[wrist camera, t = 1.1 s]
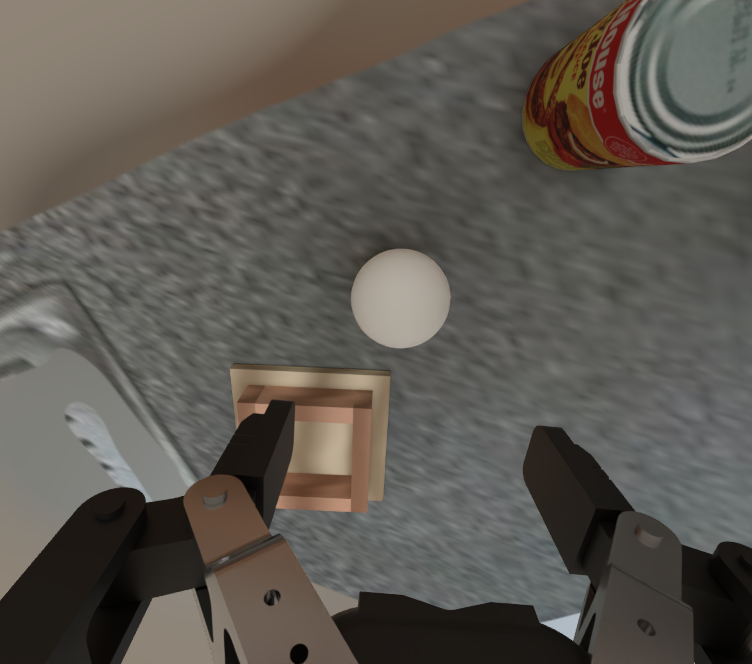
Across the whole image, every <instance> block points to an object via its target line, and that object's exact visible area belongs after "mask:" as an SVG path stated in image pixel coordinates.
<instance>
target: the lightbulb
mask: <svg viewBox="0 0 752 664" xmlns="http://www.w3.org/2000/svg"><path fill="white" fill-rule="evenodd" d="M450 298H451V296H450V287H449V284H448V281H447V278H446V276H445V275H444V273H443V271H442V270H441V268H440V267H439V266H438V265H437V264H436V263H435V261H433V260H432V259H431V258H429V257H428V256H427V255H425V254H422V253H420V252H418V251H414V250H410V249H393V250H387V251H385V252H382V253H379V254H377V255H376V256H374V257H373V258H371V259H370V260H369V261H368V262H367V263H366V264H364V265H363V267H362V268H361V269H360V271H359V272H358V274H357V276H356V278H355V281H354V283H353V287H352V292H351V306H352V311H353V314H354V316H355V319H356V321H357V323H358V325H359V326H360V328H361V329H362V331H363V332H364V333H365V334H366V335H367V336H369V337H370V338H371V339H373V340H374V341H376V342H377V343H380V344H382V345H384V346H387V347H392V348H409V347H414V346H417V345H420V344H422V343H424V342H425V341H427V340H429V339H430V338H431V337H432V336H434V335H435V334H436V333H437V332H438V330H439V329H440V328H441V327H442V325H443V324H444V322H445V320H446V318H447V315H448V312H449V308H450Z"/></svg>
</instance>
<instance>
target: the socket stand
mask: <svg viewBox="0 0 752 664" xmlns="http://www.w3.org/2000/svg"><path fill="white" fill-rule="evenodd" d="M230 374H231V383H232V393H233V402H234V412H235V422H236V430H237V428H238V426H239V425H240V423H241V421H243V420H244V419H245V418H247V417H248V416H250V415H251V414H252V413H258V414H264V413H265V411H266V409H267V407H268V405H269V403H270V401H271V400H272V399H275V400H285V401H294V402H295V426H294V446H293V453H292V458H291V461H290V464H289V468H288V471H287V474H286V477H285V480H284V483H283V487H282V490H281V493H280V496H279V499H278V502H277V505H276V508H282V509H303V510H323V511H344V512H365V513H367V505H368V500H373V501H383V490H384V474H385V458H386V442H387V426H388V410H389V394H390V378H391V373H390V371H380V370H358V369H337V368H316V367H294V366H273V365H251V364H233V366H232V367H231V368H230Z"/></svg>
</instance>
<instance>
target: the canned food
mask: <svg viewBox="0 0 752 664" xmlns="http://www.w3.org/2000/svg"><path fill="white" fill-rule="evenodd" d="M522 125H523V131H524V135H525V138H526V142H527V144H528V145H529V147H530V149H531V150H532V152H533V153H534V155H535V156H536V157H538V158H539V159H540V160H541V161H542V162H543V163H544V164H547V165H549V166H551V167H554V168H556V169H561V170H588V169H604V168H621V167H637V166H654V165H670V164H687V163H694V162H700V161H706V160H712V159H715V158H718V157H720V156H722V155H724V154H727V153H729V152H731V151H734V150H736V149H738V148H740V147H741V146H743V145H744V144H746V143H747V142H748V141H750V140H751V139H752V0H627V1H625V2H624V3H623V4H621V5H620V6H619V7H617V8H616V9H614V10H613V11H612V12H610V13H609V14H608V15H606V16H605V17H604V18H602V19H601V20H600V21H598V22H597V23H596V24H594V25H593V26H592V27H590V28H589V29H588V30H586V31H585V32H584V33H582V34H581V35H580V36H578V37H577V38H576V39H574V40H573V41H572V42H570V43H569V44H568V45H566V46H565V47H564V48H562V49H561V50H560V51H558V52H557V53H556V54H555V55H554V56H552V57H551V58H550V59H549V60H548V61H547V62H545V63H544V64H543V66H542V67H541V68H540V70H539V71H538V72H537V74H536V75H535V76H534V78H533V79H532V82H531V84H530V86H529V88H528V91H527V93H526V95H525V100H524V105H523V110H522Z"/></svg>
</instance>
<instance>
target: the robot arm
mask: <svg viewBox="0 0 752 664" xmlns="http://www.w3.org/2000/svg"><path fill="white" fill-rule="evenodd" d="M294 426H295V402H294V401H285V400H275V399H272V400H271V401H270V403H269V405H268V407H267V409H266V411H265V413H264V414H258V413H252V414H251V415H250V416H248V417H247V418H245V419H244V420H243V421H241V423H240V425H239V426H238V428H237V430H236V431H235V435H233V437H232V438H231V440H230V443H229V444H228V445H227V447H226V449H225V451H224V452H223V454H222V456H221V457H220V459H219V461H218V463H217V464H216V466H215V468H214V470H213V471H212V473H211V475H210V476H209V477H206V478H203V479H201V480H199V481H197V482H196V483H194V484H193V485H192V486H191V487H190V488H189V489H188V490H187V492H186V494H185V495H184V496H181V497H178V498H173V499H167V500H161V501H155V502H148V503H146V500H145V496H144V495H143V493H142V492H140V491H139V490H137V489H134V488H127V487H123V488H114V489H110V490H107V491H104V492H101V493H99V494H97V495H95V496H93V497H91V498H90V499H88V500H87V501H85V502H84V503H83V504H82V505H81V506H80V507H79V508H78V509H77V510H76V511H75V512H74V513H73V515H72V516H71V517H70V518H69V519H68V521H67V522H66V523H65V524H64V525H63V527H62V528H61V529H60V530H59V531H58V532H57V534H56V535H55V536H54V537H53V539H52V540H51V541H50V542H49V543H48V544H47V546H46V547H45V548H44V549H43V550H42V552H41V553H40V554H39V555H38V557H37V558H36V559H35V560H34V561H33V562H32V563H31V565H30V566H29V567H28V568H27V569H26V571H25V572H24V573H23V574H22V575H21V577H20V578H19V579H18V580H17V581H16V583H15V584H14V585H13V586H12V587H11V589H10V590H9V591H8V592H7V593H6V594H5V596H4V597H3V598H2V599H1V601H0V664H121V662H122V660H123V658H124V656H125V654H126V652H127V650H128V648H129V646H130V644H131V642H132V640H133V637H134V635H135V633H136V631H137V629H138V627H139V625H140V623H141V621H142V618H143V617H144V615H145V613H146V610H147V608H148V606H149V604H150V602H151V600H152V598H154V597H159V596H163V595H167V594H171V593H175V592H180V591H184V590H189V589H192V591H193V595H194V598H195V601H196V604H197V608H198V611H199V614H200V617H201V621H202V624H203V627H204V631H205V633H206V637H207V640H208V644H209V647H210V650H211V653H212V657H213V662H214V664H694V663H695V664H752V548H750V547H747V546H745V545H742V544H739V543H735V542H722V543H720V544H719V545H718V546H717V548H716V550H715V551H714V553H713V555H712V554H709V553H706V552H703V551H700V550H697V549H694V548H691V547H688V546H685V545H682V544H681V543H680V541H679V539H678V538H677V536H676V535H675V534H674V533H673V532H672V531H671V530H670V529H669V528H668V527H666V526H665V525H664V524H662V523H661V522H659V521H658V520H656V519H654V518H652V517H650V516H648V515H646V514H643V513H639V512H636V511H635V510H634V509H633V508H632V506H631V505H630V504H629V502H628V501H627V500H626V499H625V497H624V496H623V495H622V493H621V492H620V491H619V490H618V488H617V487H616V486H615V485H614V483H613V482H612V481H611V480H609V477H608V476H607V474H606V473H605V472H604V470H601V467H600V465H599V464H598V463H597V462H596V460H595V459H594V458H593V456H592V455H591V454H589V453H588V452H587V451H585V450H584V449H583V448H581V447H580V446H579V445H577V444H574V443H573V442H572V440H571V439H570V438H569V436H568V435H567V434H566V432H565V431H564V430H563V429H562V428H559V427H549V426H536V427H535V429H534V431H533V434H532V437H531V440H530V444H529V447H528V450H527V454H526V457H525V460H524V464H523V476H524V481H525V483H526V485H527V487H528V490H529V492H530V494H531V496H532V498H533V500H534V502H535V504H536V506H537V508H538V510H539V512H540V514H541V516H542V518H543V520H544V522H545V524H546V526H547V528H548V530H549V533H550V535H551V537H552V539H553V541H554V543H555V545H556V547H557V549H558V551H559V553H560V555H561V557H562V559H563V561H564V563H565V565H566V567H567V569H568V571H569V573H570V574H578V575H588V577H589V579H590V584H589V586H588V588H587V591H586V594H585V598H584V602H583V606H582V609H581V613H580V617H579V621H578V625H577V629H576V632H575V636H574V640H573V641H572V640H571V639H569V638H568V637H566V636H565V635H563V634H561V633H560V632H558V631H556V630H555V629H552V628H550V627H548V626H546V625H544V624H541V623H539V620H538V618H537V615H536V612H535V609H534V607H533V606H532V605H520V604H508V603H495V602H489V603H484V604H480V605H475V606H470V607H465V608H460V609H456V610H445V609H442V608H439V607H436V606H433V605H431V604H428V603H425V602H422V601H419V600H416V599H413V598H410V597H407V596H404V595H397V594H384V593H372V592H360V594H359V601H358V607H356V608H351V609H348V610H345V611H342V612H339V613H337V614H335V615H333V616H332V617H331V616H330V614H329V613H328V611H327V609H326V608H325V606H324V604H323V602H322V601H321V599H320V597H319V595H318V594H317V592H316V590H315V589H314V587H313V585H312V584H311V582H310V580H309V578H308V577H307V575H306V573H305V572H304V570H303V568H302V566H301V565H300V563H299V561H298V560H297V558H296V556H295V554H294V553H293V551H292V549H291V548H290V546H289V544H288V542H287V541H286V539H285V538H284V537H283V536H282V535H281V534H277V535H275V536H272V535H271V533H270V532H269V527H270V524H271V521H272V518H273V515H274V512H275V509H276V505H277V502H278V499H279V496H280V493H281V490H282V487H283V483H284V480H285V477H286V474H287V471H288V468H289V464H290V461H291V458H292V453H293V446H294Z"/></svg>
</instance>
